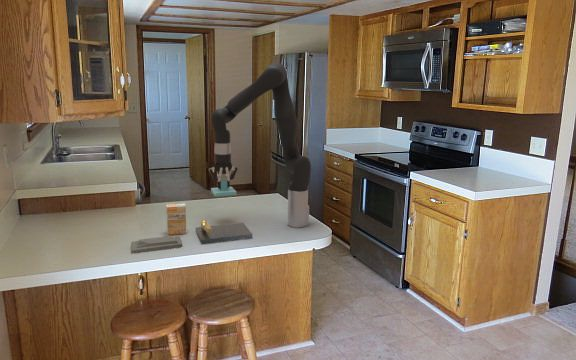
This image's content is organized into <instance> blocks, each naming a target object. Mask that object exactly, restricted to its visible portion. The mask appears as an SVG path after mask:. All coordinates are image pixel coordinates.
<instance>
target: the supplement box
mask: <svg viewBox="0 0 576 360" xmlns="http://www.w3.org/2000/svg"><path fill="white" fill-rule="evenodd" d="M186 208H187V207H186V203H184V202H183V203H167V204H166V228H167V230H166V231H167V236H174V235H175V236H176V235H186V234H187V211H186V210H187V209H186Z"/></svg>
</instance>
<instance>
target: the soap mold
mask: <svg viewBox="0 0 576 360" xmlns="http://www.w3.org/2000/svg"><path fill="white" fill-rule="evenodd" d="M181 247H184V246H183V241H182V239H181V236H171V235H167V236H161V237H150V238H141V239H138V240H134V241H131V242H130V249H131V248H132V249H131V254H132V253H134V254H141V253H142V252H143V253H149V252H157V251H166V250H172V249H174V248H175V249H181ZM143 253H142V254H143Z"/></svg>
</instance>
